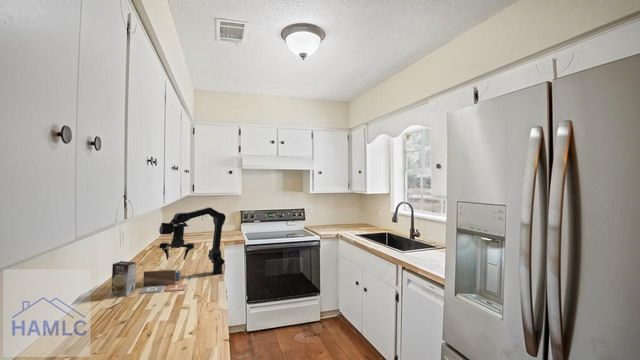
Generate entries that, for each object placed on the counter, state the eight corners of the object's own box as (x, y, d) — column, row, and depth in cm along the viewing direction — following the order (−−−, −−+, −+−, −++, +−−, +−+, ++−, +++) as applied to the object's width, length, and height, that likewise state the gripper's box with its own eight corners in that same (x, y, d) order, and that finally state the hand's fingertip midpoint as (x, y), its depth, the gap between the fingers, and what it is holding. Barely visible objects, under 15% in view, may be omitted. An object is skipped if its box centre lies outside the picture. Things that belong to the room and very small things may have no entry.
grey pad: (144, 287, 169) (144, 286, 169) (164, 286, 172) (164, 285, 172) (139, 293, 160) (139, 292, 160) (160, 292, 162) (160, 291, 162)
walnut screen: (144, 285, 173) (144, 271, 173) (175, 283, 177) (175, 269, 178) (143, 286, 171) (143, 272, 171) (174, 284, 175) (175, 270, 176)
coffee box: (110, 295, 156) (111, 263, 157) (119, 291, 163) (120, 261, 163) (126, 296, 155) (128, 264, 156) (135, 292, 162) (136, 261, 162)
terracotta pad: (168, 286, 173) (168, 285, 173) (187, 284, 175) (187, 283, 176) (164, 291, 163) (164, 290, 163) (184, 290, 166) (184, 289, 166)
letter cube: (171, 279, 186) (171, 270, 186) (180, 278, 188) (180, 270, 188) (170, 281, 182) (170, 272, 182) (179, 280, 183) (179, 272, 183)
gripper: (158, 235, 174) (155, 262, 173) (193, 236, 179) (191, 262, 178) (162, 232, 185) (160, 258, 184) (195, 233, 190) (193, 259, 189)
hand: (176, 260), depth 183 cm, fingers open, 9 cm apart
